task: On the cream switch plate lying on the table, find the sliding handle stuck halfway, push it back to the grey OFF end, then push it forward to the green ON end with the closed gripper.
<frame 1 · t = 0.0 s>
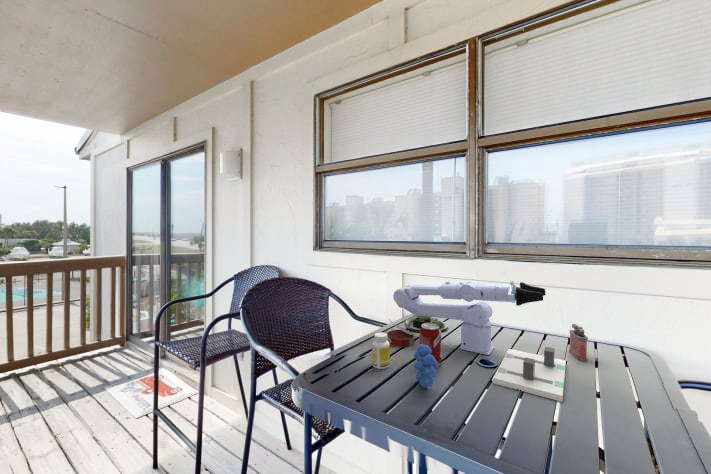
hand: (544, 294, 98), 22 cm above the table, tool horizontal, fingers open, 7 cm apart
soda can: (430, 363, 100), on the table
tripped handle: (529, 368, 87), point 4 cm above the table, slide at 4.0 cm
on handle: (549, 356, 95), point 4 cm above the table, slide at 8.0 cm
supplement bottle: (380, 366, 99), on the table
grapes: (427, 387, 85), on the table
salad plate: (425, 328, 135), on the table
switch plate: (531, 373, 92), on the table
lighter: (577, 356, 104), on the table
dark red bowl: (400, 342, 118), on the table
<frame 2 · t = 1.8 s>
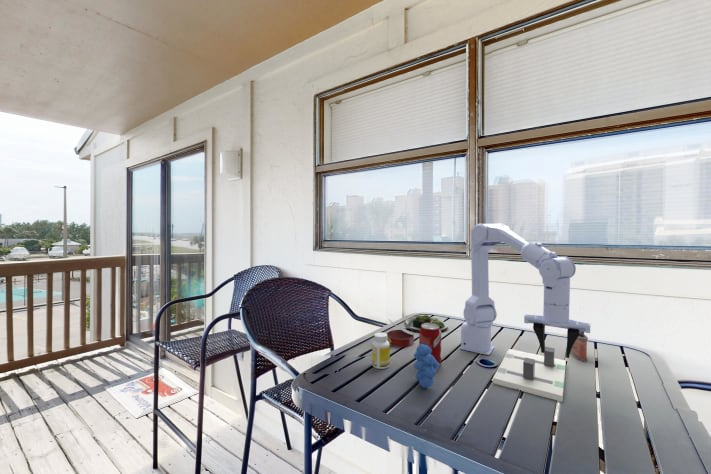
hand: (555, 354, 84), 9 cm above the table, tool pointing down, fingers open, 5 cm apart
nothing on the table moved.
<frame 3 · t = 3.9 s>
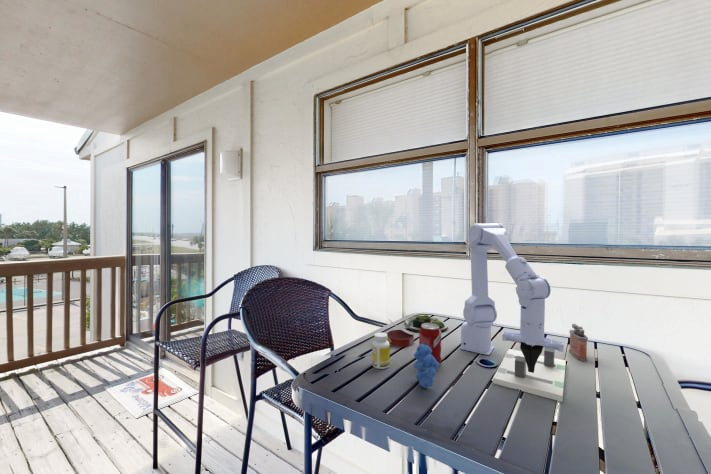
hand: (531, 370, 87), 3 cm above the table, tool pointing down, fingers closed
tripped handle: (520, 366, 88), point 4 cm above the table, slide at 1.9 cm, touching gripper
everything else where it was.
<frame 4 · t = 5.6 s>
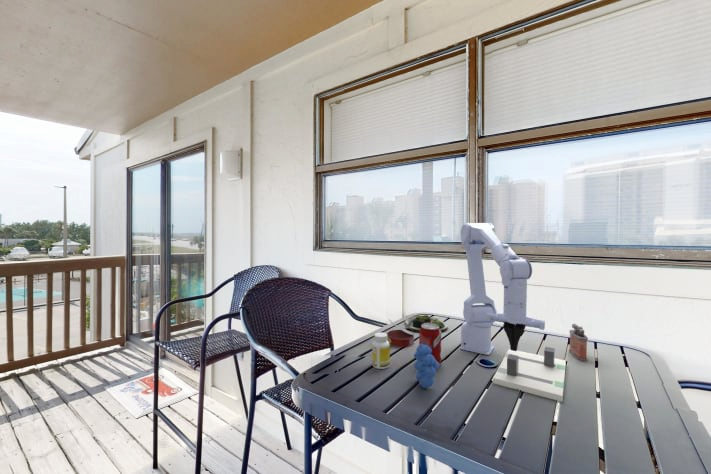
hand: (514, 349, 89), 8 cm above the table, tool pointing down, fingers closed
tripped handle: (512, 364, 90), point 4 cm above the table, slide at -0.1 cm
everything else where it was.
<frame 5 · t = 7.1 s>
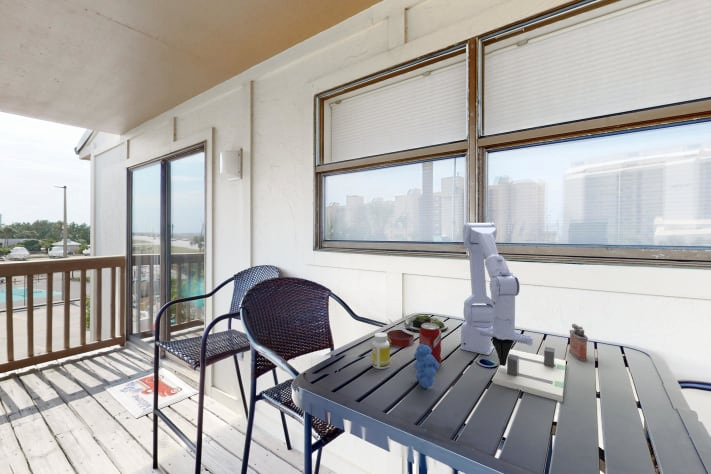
hand: (503, 364, 91), 3 cm above the table, tool pointing down, fingers closed
tripped handle: (513, 364, 90), point 4 cm above the table, slide at 0.0 cm, touching gripper
everything else where it was.
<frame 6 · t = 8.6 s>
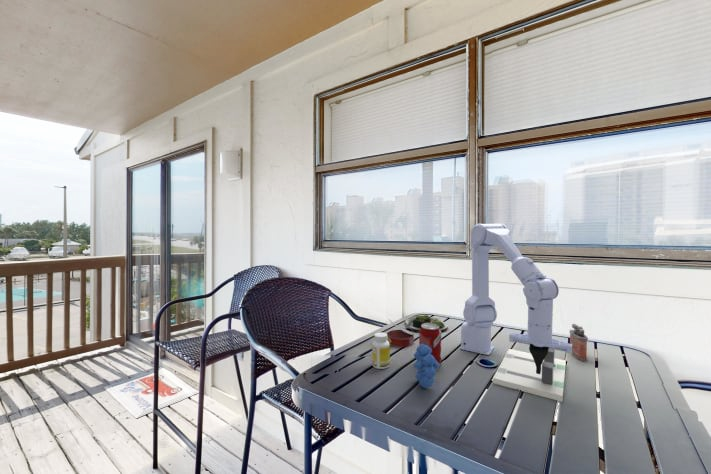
hand: (538, 372, 86), 3 cm above the table, tool pointing down, fingers closed
tripped handle: (547, 372, 85), point 4 cm above the table, slide at 8.4 cm, touching gripper
everything else where it was.
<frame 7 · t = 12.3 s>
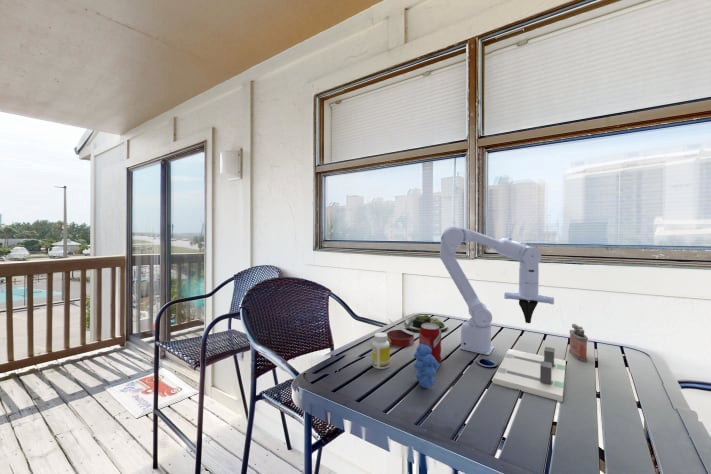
hand: (528, 322, 107), 10 cm above the table, tool pointing down, fingers closed
tripped handle: (546, 372, 85), point 4 cm above the table, slide at 8.1 cm
everything else where it was.
at the end: tripped handle slide at 8.1 cm; on handle slide at 8.0 cm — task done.
